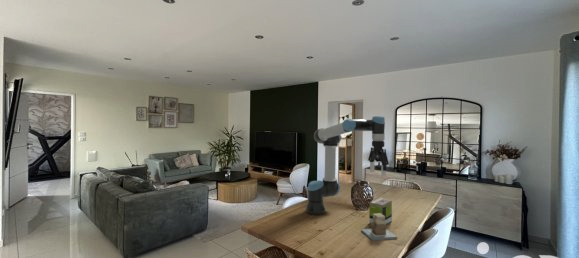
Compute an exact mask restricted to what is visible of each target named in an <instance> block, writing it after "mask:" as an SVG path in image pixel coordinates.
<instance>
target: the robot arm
mask: <svg viewBox="0 0 579 258" xmlns="http://www.w3.org/2000/svg"><path fill="white" fill-rule="evenodd" d="M385 121H386V118H385V116H380V115H379V116H372V118H371V119H355V118H354V119H353V118H352V119H351V118H347V119H344V120H343V121H342V122H340V123H338V124H334V125H331V126H328V127H325V128H324V127H323V128H318V129H317V130H315V132H314V133H313V139H314V141H315V142H317V143H318V144H322V146H323V147H324V177H323V178H322V180H312V181H309V183H308V185H307V186H308V187H307V192H308V193H307V195H308V196H307V197H308V198H307V203H306V207H305V213H307V214H309V215H314V216H320V215H324V214H325V213H326V208H325V205H324V198H329V197H334V196H337V195H338V194H339V193H340V191H341V185H340V182H339V181H338V179H337V178H336V167H337V166H336V163H337V161H336V160H337V158H336V157H337V156H336V155H337V153H336V152H337V148H338V145H339V143H340V142H341V140H342V135H343V134H347V133H351V132H371V139H372V140H371V147H370V152H369V156H368V159H367V161H369V172H370V173H374V172H375V160H376V158H377V156H378V157H379V159H380V161H381V165H380V166H381V167H380V169H381V174H380V175H381V177H386V176H387V166H388V165H389V164H390V163H389V159H388V156H387V155H388V154H387V152H386V151H387V149H386V148H384V147H385V140H386V139H385V127H386V125H385V124H386V122H385Z"/></svg>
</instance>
